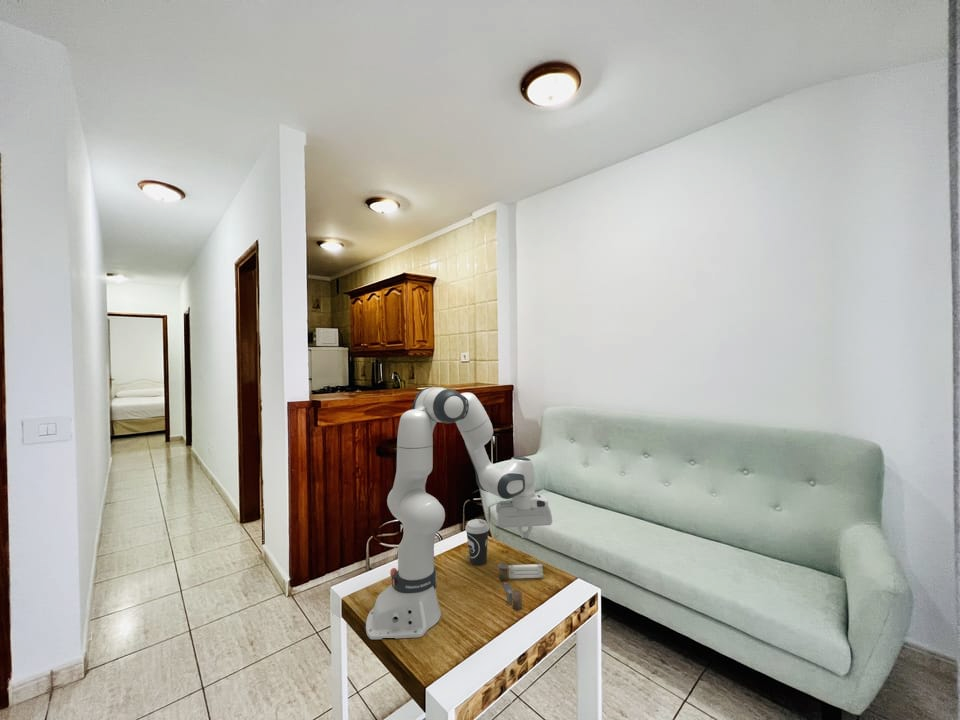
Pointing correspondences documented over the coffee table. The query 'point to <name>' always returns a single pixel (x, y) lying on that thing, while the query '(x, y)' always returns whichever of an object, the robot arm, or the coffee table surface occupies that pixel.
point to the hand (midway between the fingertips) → (525, 537)
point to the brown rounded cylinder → (515, 599)
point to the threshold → (508, 588)
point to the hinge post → (503, 572)
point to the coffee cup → (477, 541)
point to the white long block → (526, 571)
